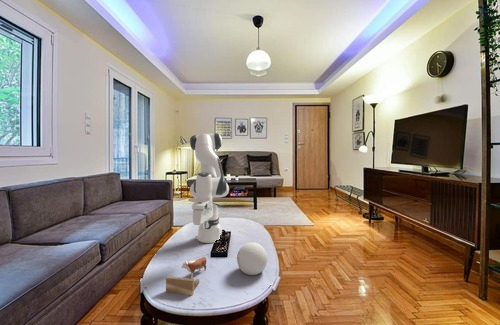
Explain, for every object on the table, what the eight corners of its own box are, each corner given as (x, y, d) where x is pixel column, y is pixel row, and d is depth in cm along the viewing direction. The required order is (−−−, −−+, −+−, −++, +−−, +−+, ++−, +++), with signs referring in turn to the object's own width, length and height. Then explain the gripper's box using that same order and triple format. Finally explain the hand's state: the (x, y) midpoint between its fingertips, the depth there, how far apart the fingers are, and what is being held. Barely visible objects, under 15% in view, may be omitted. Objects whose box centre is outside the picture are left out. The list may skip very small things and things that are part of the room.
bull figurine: (180, 278, 112) (180, 261, 112) (204, 269, 121) (204, 253, 121) (184, 281, 109) (184, 264, 109) (209, 272, 118) (209, 255, 118)
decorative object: (243, 264, 127) (244, 236, 127) (270, 269, 122) (271, 240, 121) (231, 277, 113) (231, 246, 113) (261, 283, 108) (261, 250, 107)
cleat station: (176, 280, 109) (176, 268, 109) (201, 283, 107) (201, 270, 107) (165, 292, 100) (165, 278, 100) (192, 295, 98) (192, 280, 98)
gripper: (205, 199, 137) (205, 223, 137) (190, 206, 117) (190, 234, 117) (215, 200, 136) (215, 224, 136) (202, 207, 116) (202, 235, 116)
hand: (203, 229), depth 126 cm, fingers open, 3 cm apart
